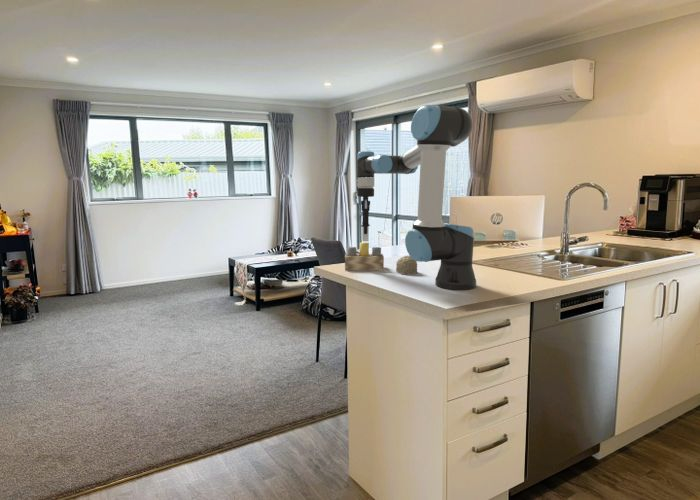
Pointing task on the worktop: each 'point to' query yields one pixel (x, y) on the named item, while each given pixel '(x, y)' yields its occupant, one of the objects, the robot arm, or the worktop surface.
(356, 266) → the socket block
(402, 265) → the sponge
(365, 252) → the mustard plug
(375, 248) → the grey plug
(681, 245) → the worktop surface
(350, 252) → the grey plug
